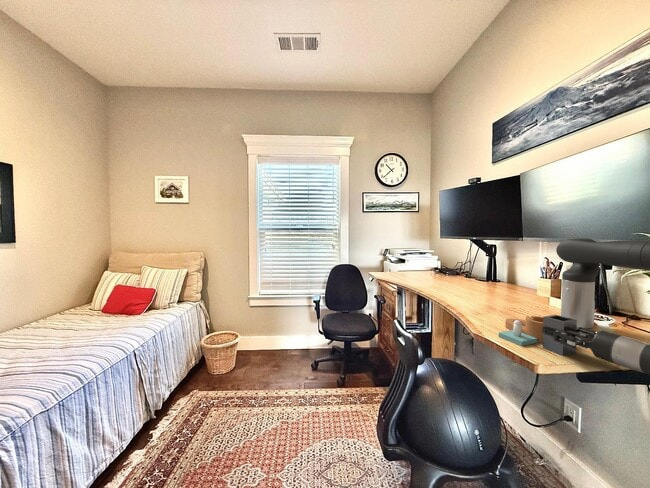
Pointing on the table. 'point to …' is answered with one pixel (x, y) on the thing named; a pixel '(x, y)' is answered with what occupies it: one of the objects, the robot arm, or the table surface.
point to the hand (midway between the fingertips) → (550, 328)
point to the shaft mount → (517, 335)
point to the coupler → (561, 325)
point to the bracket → (529, 326)
